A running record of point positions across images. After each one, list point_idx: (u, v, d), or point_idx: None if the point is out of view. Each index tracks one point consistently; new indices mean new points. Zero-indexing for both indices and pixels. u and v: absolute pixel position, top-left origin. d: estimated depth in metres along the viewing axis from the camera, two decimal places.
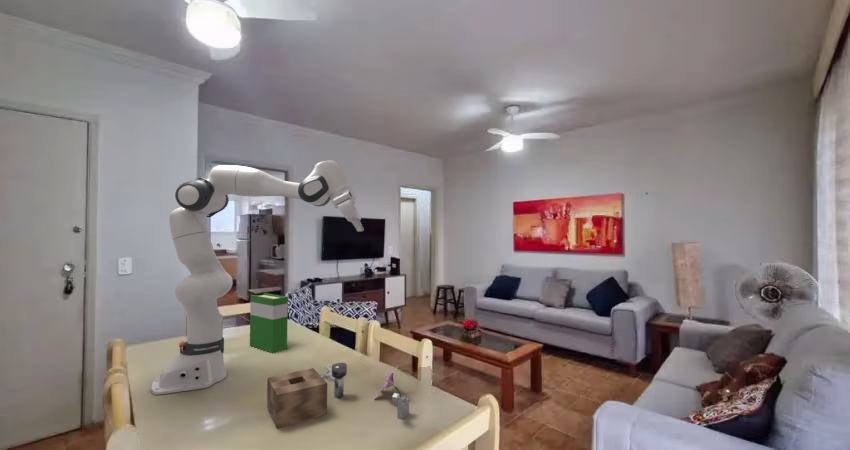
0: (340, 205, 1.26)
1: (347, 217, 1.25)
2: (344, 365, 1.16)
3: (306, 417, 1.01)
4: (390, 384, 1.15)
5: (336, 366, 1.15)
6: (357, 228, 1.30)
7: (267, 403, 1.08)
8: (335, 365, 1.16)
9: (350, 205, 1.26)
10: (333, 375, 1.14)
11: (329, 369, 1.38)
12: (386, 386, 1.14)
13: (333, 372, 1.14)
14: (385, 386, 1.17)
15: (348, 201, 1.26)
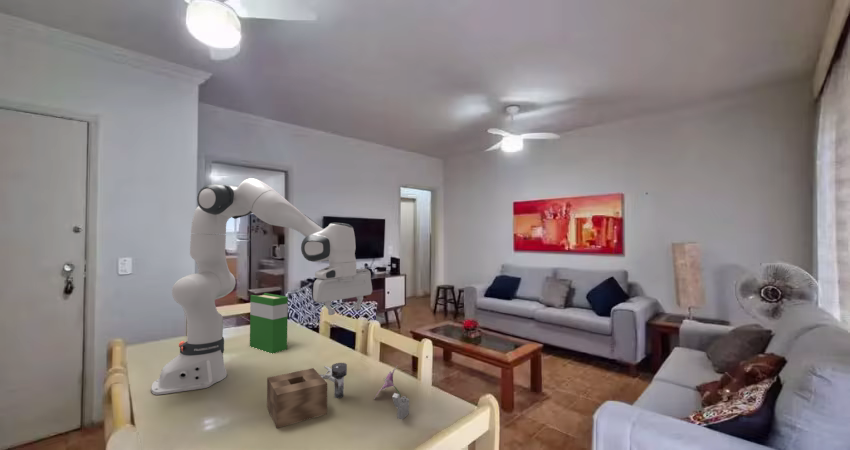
0: (315, 281, 1.14)
1: (313, 298, 1.13)
2: (344, 365, 1.16)
3: (306, 417, 1.01)
4: (390, 384, 1.15)
5: (336, 366, 1.15)
6: (328, 311, 1.15)
7: (267, 403, 1.08)
8: (335, 365, 1.16)
9: (317, 288, 1.11)
10: (333, 375, 1.14)
11: (329, 369, 1.38)
12: (386, 386, 1.14)
13: (333, 372, 1.14)
14: (385, 386, 1.17)
15: (319, 282, 1.11)
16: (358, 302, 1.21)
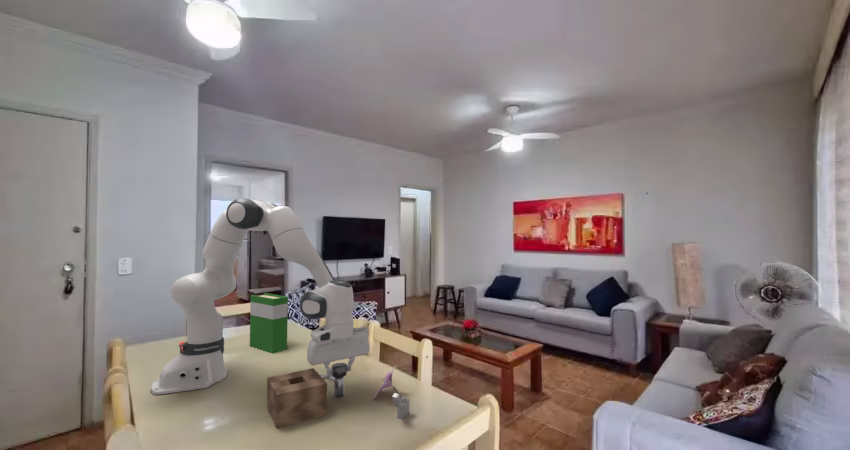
0: (310, 342, 1.12)
1: (307, 359, 1.12)
2: (344, 365, 1.16)
3: (306, 417, 1.01)
4: (388, 384, 1.15)
5: (336, 366, 1.15)
6: (327, 371, 1.14)
7: (267, 403, 1.08)
8: (335, 365, 1.16)
9: (311, 350, 1.09)
10: (333, 375, 1.14)
11: None
12: (384, 386, 1.14)
13: (333, 372, 1.14)
14: (383, 386, 1.17)
15: (313, 345, 1.10)
16: (349, 363, 1.18)
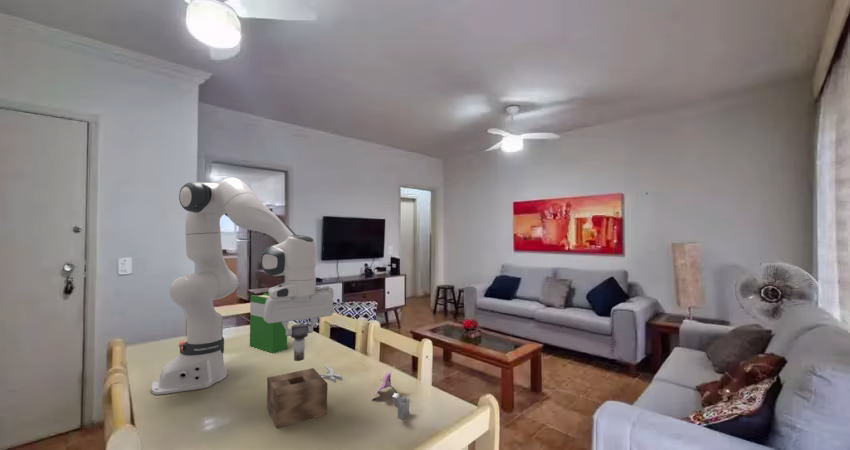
0: (267, 299, 1.04)
1: (263, 317, 1.03)
2: (305, 326, 1.07)
3: (306, 417, 1.01)
4: (387, 385, 1.15)
5: (296, 326, 1.07)
6: (286, 331, 1.06)
7: (267, 403, 1.08)
8: (295, 326, 1.07)
9: (267, 307, 1.01)
10: (292, 336, 1.05)
11: (329, 369, 1.37)
12: (383, 387, 1.14)
13: (292, 332, 1.06)
14: (382, 387, 1.17)
15: (269, 301, 1.01)
16: (311, 324, 1.09)
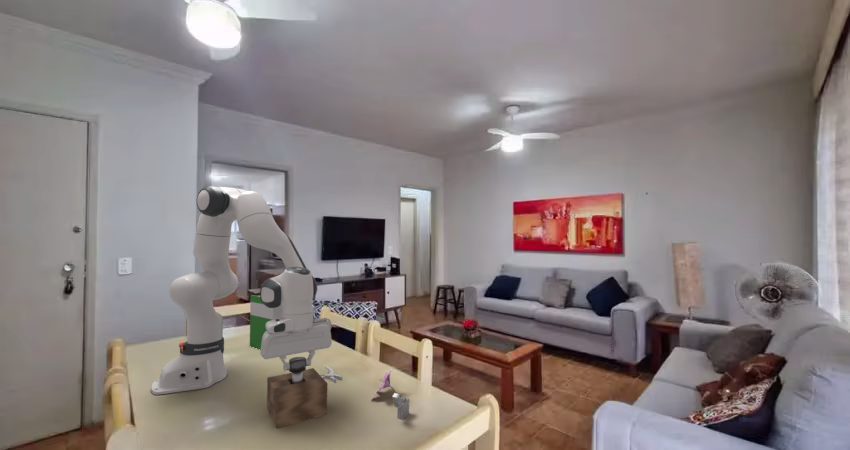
0: (264, 334, 1.03)
1: None
2: (303, 359, 1.07)
3: (306, 417, 1.01)
4: (387, 385, 1.15)
5: (293, 360, 1.06)
6: None
7: (267, 403, 1.08)
8: (293, 359, 1.06)
9: (264, 343, 1.00)
10: (290, 370, 1.05)
11: (330, 369, 1.37)
12: (383, 387, 1.13)
13: (290, 367, 1.05)
14: (381, 387, 1.17)
15: (266, 337, 1.00)
16: (309, 357, 1.08)
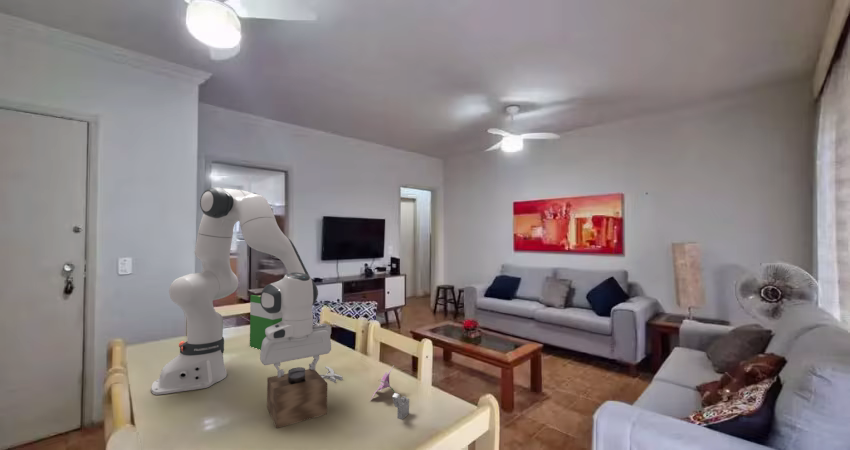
0: (263, 340, 1.03)
1: (260, 358, 1.02)
2: (302, 370, 1.06)
3: (306, 417, 1.01)
4: (386, 385, 1.15)
5: (293, 371, 1.06)
6: None
7: (267, 403, 1.08)
8: (292, 370, 1.06)
9: (263, 349, 1.00)
10: (289, 381, 1.04)
11: (330, 369, 1.37)
12: (382, 387, 1.13)
13: (289, 378, 1.05)
14: (381, 387, 1.16)
15: (265, 343, 1.00)
16: (313, 362, 1.09)
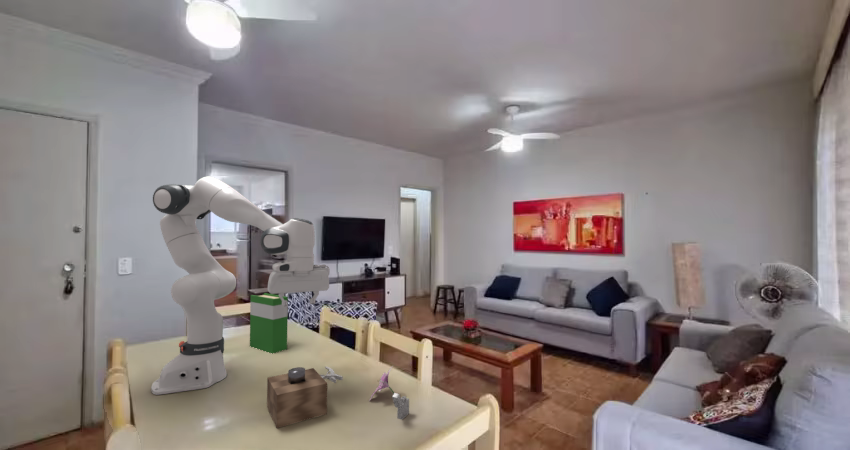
0: (271, 273, 1.19)
1: None
2: (302, 370, 1.06)
3: (306, 417, 1.01)
4: (385, 385, 1.14)
5: (293, 371, 1.06)
6: (282, 302, 1.20)
7: (267, 403, 1.08)
8: (292, 370, 1.06)
9: (270, 279, 1.16)
10: (289, 381, 1.04)
11: (330, 369, 1.37)
12: (381, 387, 1.13)
13: (289, 378, 1.05)
14: (380, 387, 1.16)
15: (272, 274, 1.17)
16: (314, 296, 1.25)
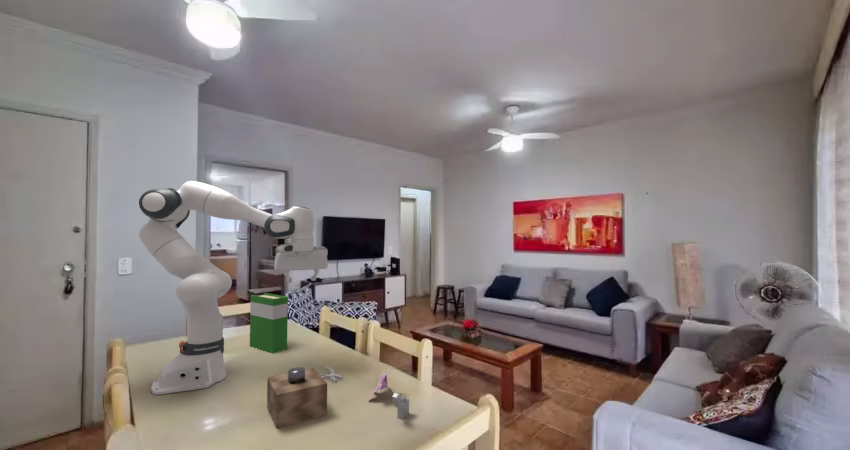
0: (276, 254, 1.37)
1: (274, 267, 1.36)
2: (302, 370, 1.06)
3: (306, 417, 1.01)
4: (384, 385, 1.14)
5: (293, 371, 1.06)
6: (287, 279, 1.38)
7: (267, 403, 1.08)
8: (292, 370, 1.06)
9: (277, 259, 1.34)
10: (289, 381, 1.04)
11: (330, 369, 1.37)
12: (380, 388, 1.13)
13: (289, 378, 1.05)
14: (378, 388, 1.16)
15: (278, 254, 1.35)
16: (314, 274, 1.44)
